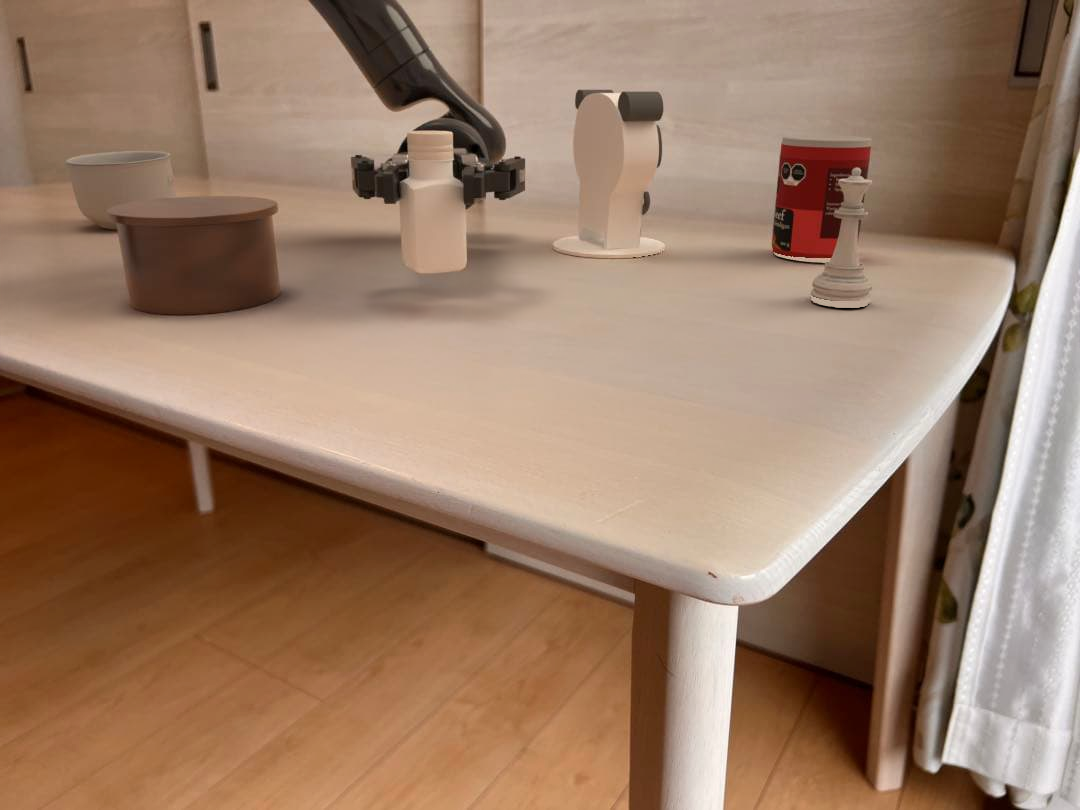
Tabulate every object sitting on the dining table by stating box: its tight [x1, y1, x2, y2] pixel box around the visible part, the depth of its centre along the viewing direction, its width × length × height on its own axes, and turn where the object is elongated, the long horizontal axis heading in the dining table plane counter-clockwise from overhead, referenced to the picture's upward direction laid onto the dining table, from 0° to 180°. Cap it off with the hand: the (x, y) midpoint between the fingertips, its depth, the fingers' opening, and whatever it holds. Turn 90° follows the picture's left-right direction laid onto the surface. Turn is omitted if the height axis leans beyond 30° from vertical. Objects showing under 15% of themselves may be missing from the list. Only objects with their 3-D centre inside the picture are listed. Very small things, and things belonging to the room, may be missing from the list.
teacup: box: [64, 150, 176, 231], centre depth 99 cm, size 14×11×8 cm
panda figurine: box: [552, 89, 666, 259], centre depth 84 cm, size 12×11×15 cm
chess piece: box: [810, 168, 873, 301], centre depth 64 cm, size 4×4×10 cm
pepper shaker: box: [398, 130, 468, 275], centre depth 61 cm, size 4×4×10 cm
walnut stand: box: [107, 195, 281, 316], centre depth 66 cm, size 12×12×7 cm
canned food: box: [771, 134, 872, 258], centre depth 81 cm, size 8×8×11 cm
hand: (429, 188), depth 58 cm, fingers closed on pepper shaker, 4 cm apart
